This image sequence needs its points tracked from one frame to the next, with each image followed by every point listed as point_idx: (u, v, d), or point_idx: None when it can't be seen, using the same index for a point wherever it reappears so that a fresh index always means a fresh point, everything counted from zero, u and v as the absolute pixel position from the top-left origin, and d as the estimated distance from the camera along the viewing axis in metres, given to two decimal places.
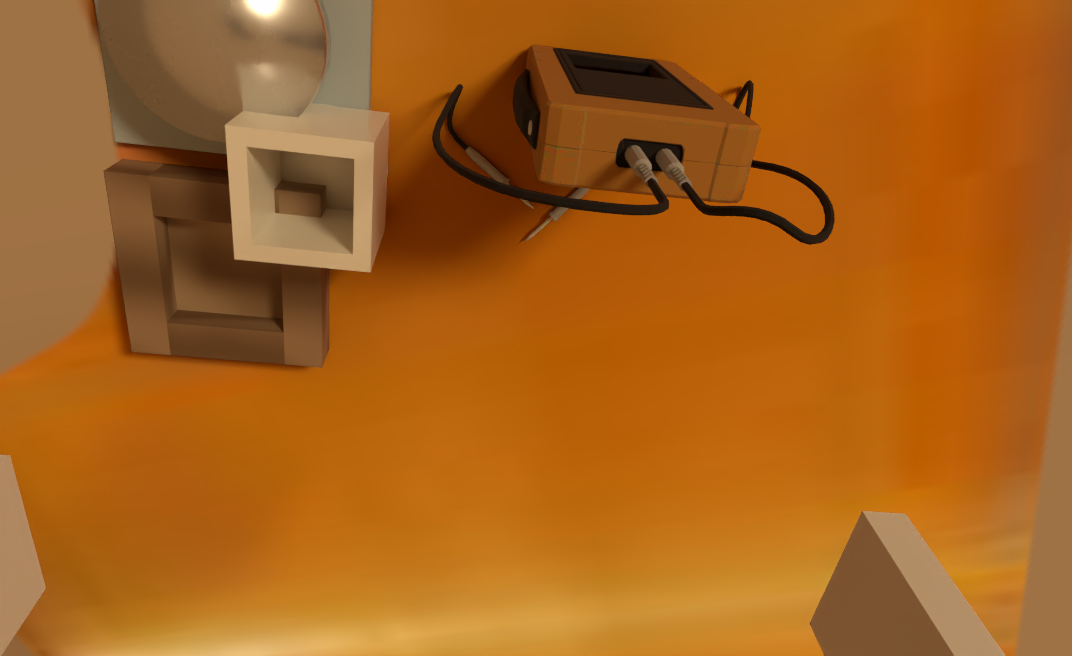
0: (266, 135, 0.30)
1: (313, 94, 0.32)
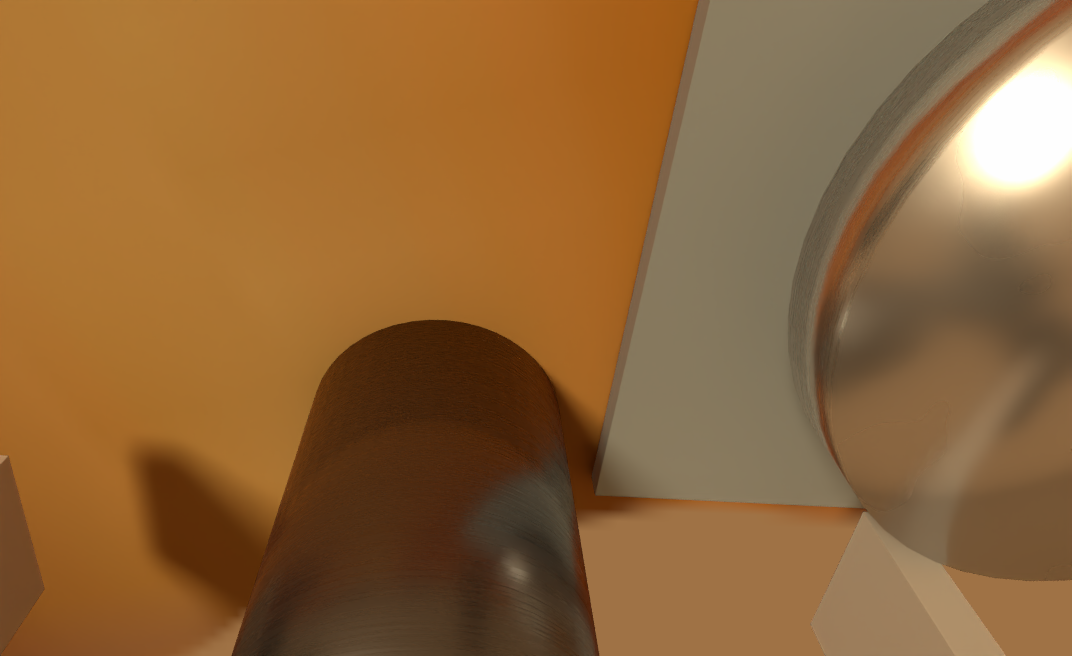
0: None
1: None
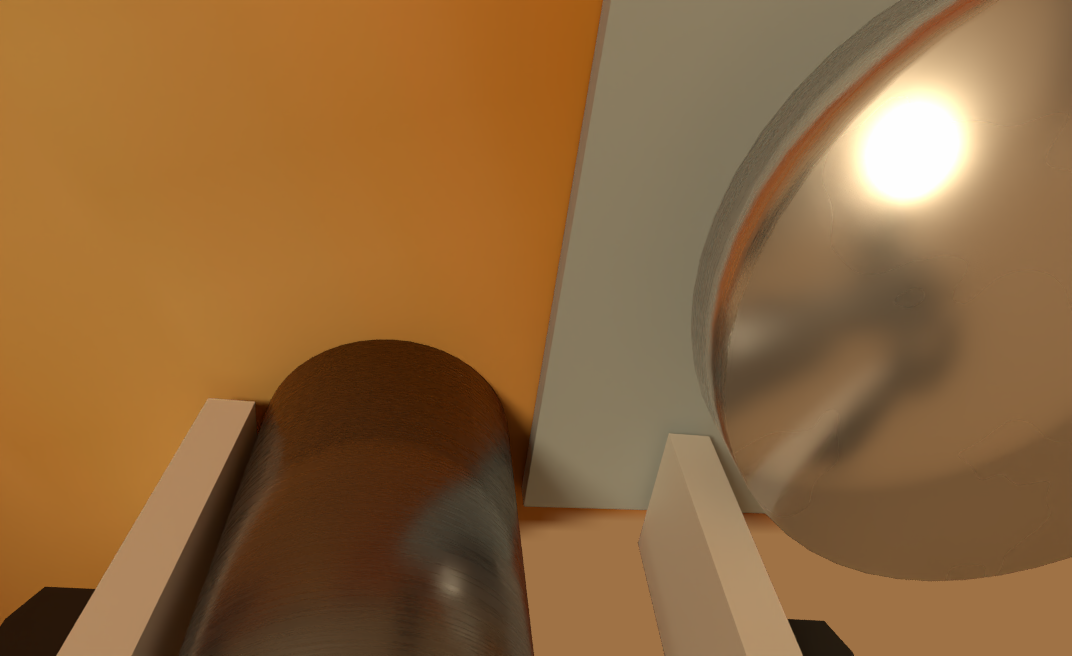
0: None
1: None
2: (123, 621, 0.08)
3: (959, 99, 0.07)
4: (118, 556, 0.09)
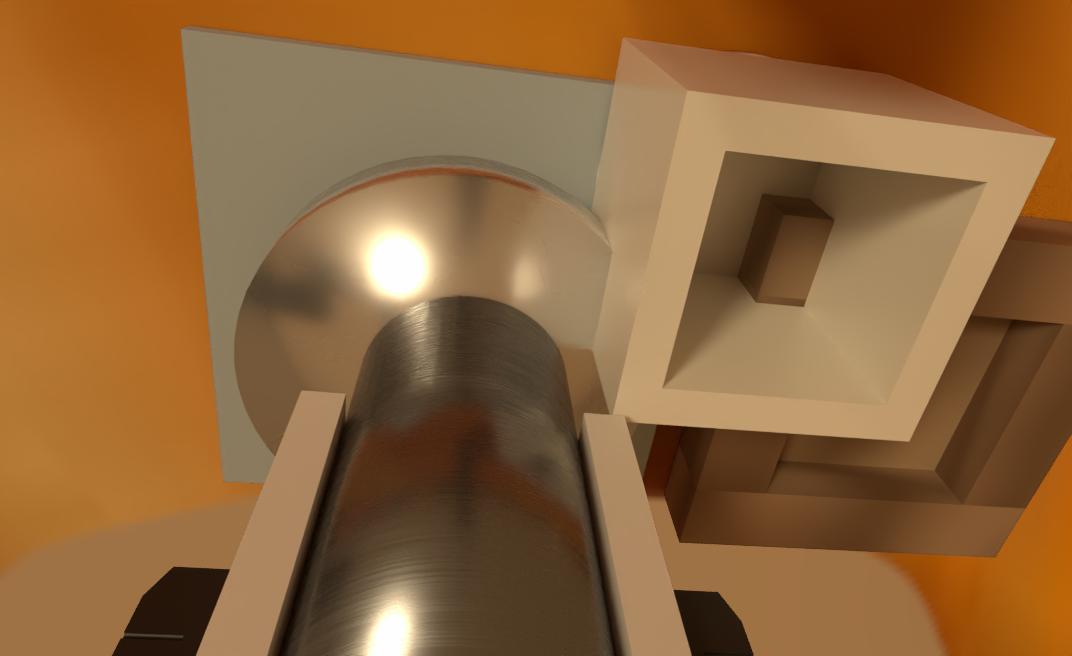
0: (641, 347, 0.13)
1: (565, 213, 0.14)
2: (262, 597, 0.09)
3: (313, 256, 0.14)
4: (245, 537, 0.10)
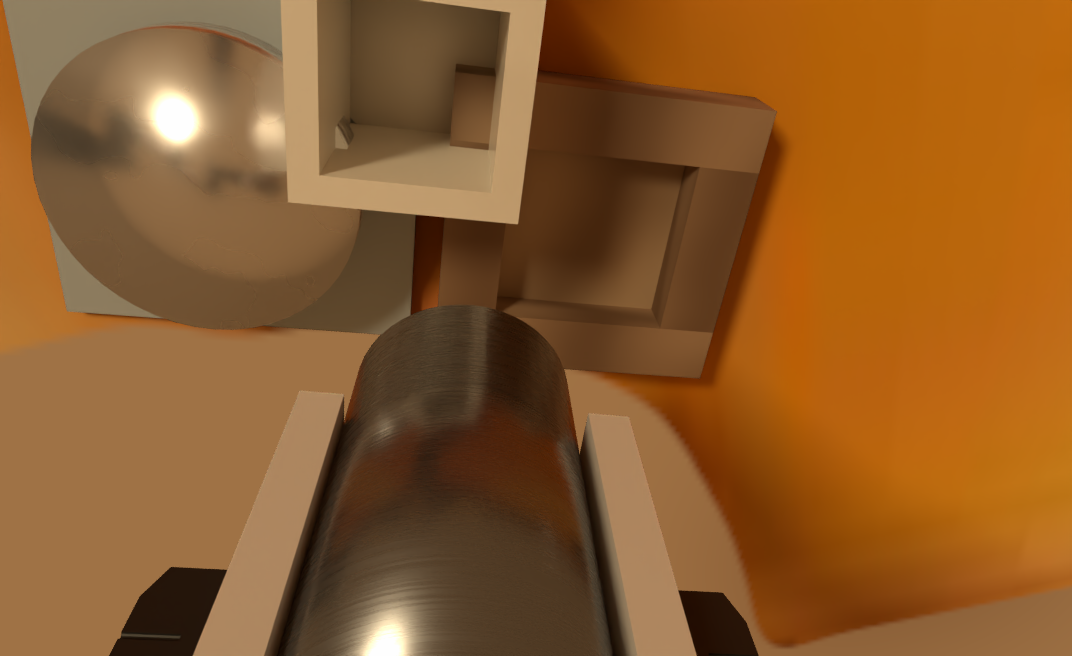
0: (295, 140, 0.18)
1: (263, 58, 0.19)
2: (259, 597, 0.09)
3: (81, 91, 0.19)
4: (242, 537, 0.10)
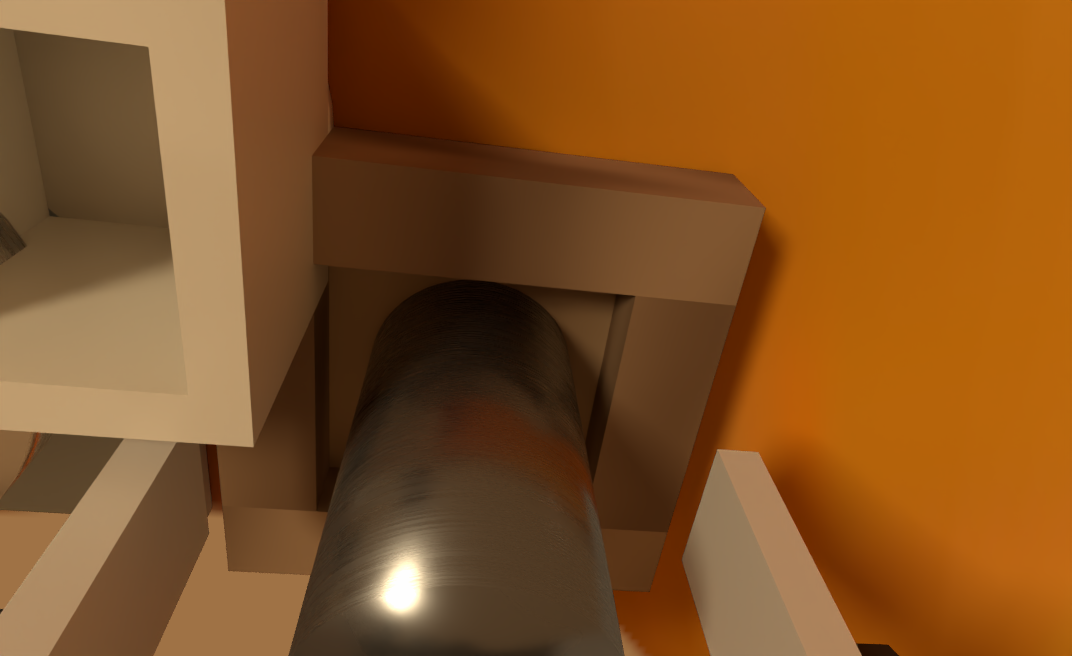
0: None
1: None
2: (28, 646, 0.08)
3: None
4: (32, 574, 0.09)
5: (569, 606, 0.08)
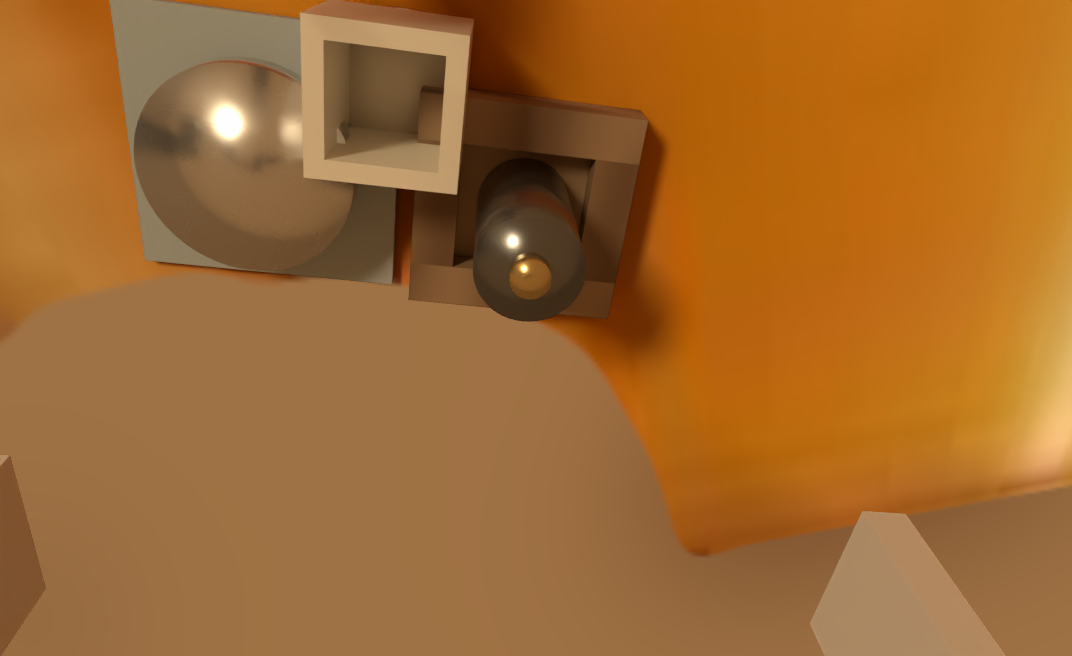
0: (308, 136, 0.28)
1: (289, 82, 0.29)
2: None
3: (169, 103, 0.29)
4: None
5: (565, 229, 0.27)
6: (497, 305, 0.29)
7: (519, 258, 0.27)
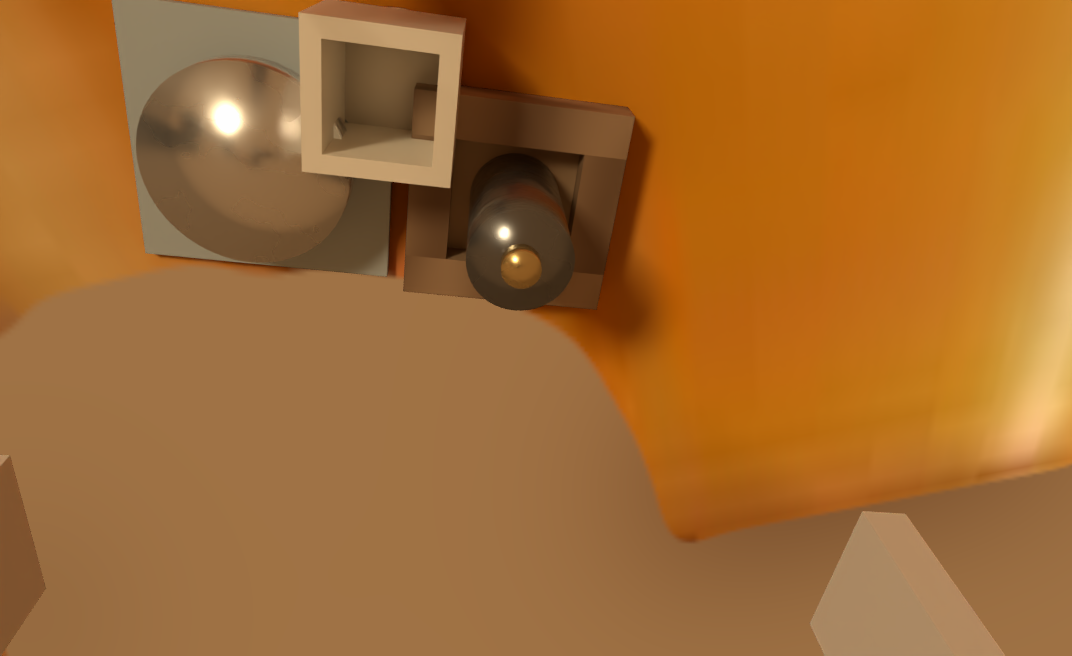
0: (306, 132, 0.29)
1: (287, 79, 0.30)
2: None
3: (170, 99, 0.30)
4: None
5: (555, 220, 0.28)
6: (489, 295, 0.30)
7: (510, 249, 0.28)
